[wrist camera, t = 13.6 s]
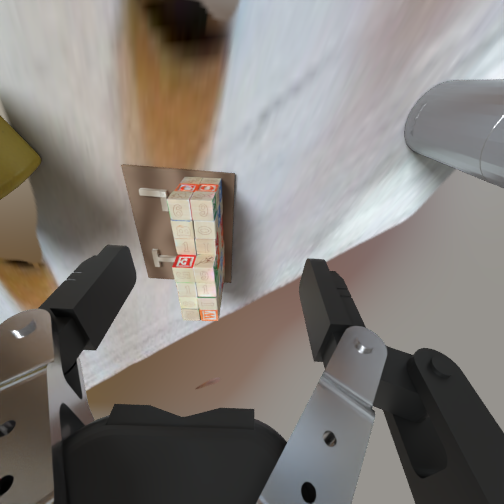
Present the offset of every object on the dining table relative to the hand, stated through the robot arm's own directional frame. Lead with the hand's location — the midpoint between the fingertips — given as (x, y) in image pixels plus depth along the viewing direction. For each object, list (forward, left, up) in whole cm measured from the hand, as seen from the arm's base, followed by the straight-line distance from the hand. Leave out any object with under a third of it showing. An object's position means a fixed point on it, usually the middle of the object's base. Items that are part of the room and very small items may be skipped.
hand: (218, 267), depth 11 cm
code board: (+10, +17, -30) cm, 36 cm away
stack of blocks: (+6, +16, -30) cm, 34 cm away
